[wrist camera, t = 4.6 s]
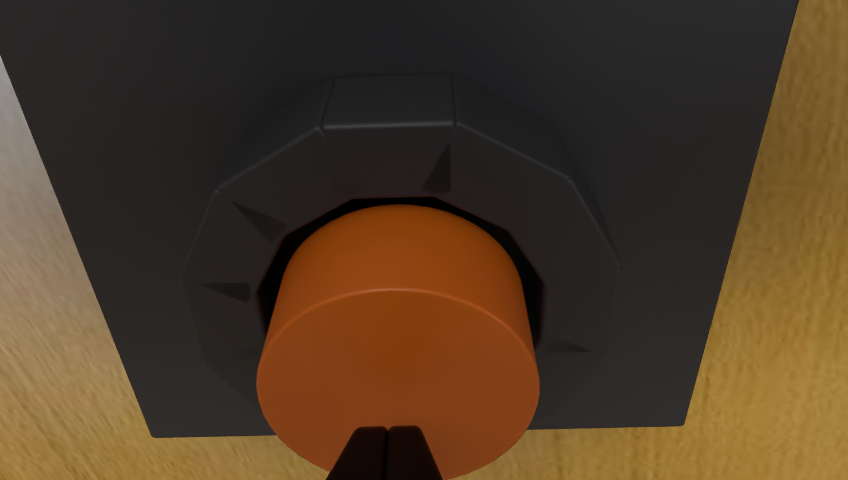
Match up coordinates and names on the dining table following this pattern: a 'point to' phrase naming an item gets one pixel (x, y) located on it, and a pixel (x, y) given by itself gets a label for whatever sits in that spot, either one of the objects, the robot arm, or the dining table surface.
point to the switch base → (401, 171)
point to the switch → (400, 339)
